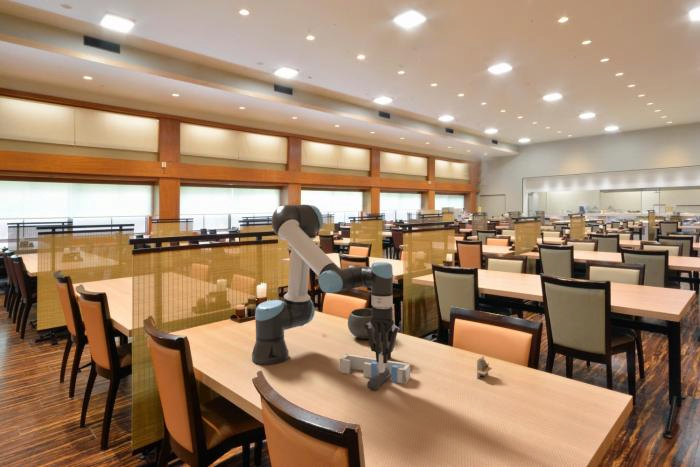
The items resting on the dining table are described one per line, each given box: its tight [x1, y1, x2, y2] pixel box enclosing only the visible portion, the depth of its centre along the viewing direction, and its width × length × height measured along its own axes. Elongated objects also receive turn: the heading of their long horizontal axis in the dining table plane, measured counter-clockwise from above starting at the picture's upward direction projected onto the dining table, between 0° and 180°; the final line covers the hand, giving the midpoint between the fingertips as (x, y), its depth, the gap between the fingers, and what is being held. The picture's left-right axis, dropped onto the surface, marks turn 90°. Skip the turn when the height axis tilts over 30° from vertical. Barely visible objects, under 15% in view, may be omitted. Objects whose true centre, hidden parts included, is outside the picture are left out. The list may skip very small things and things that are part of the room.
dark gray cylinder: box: [366, 367, 390, 392], centre depth 142 cm, size 12×4×4 cm, turn 155°
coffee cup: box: [374, 328, 393, 361], centre depth 165 cm, size 9×8×13 cm
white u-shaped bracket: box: [339, 353, 411, 385], centre depth 149 cm, size 26×6×6 cm, turn 66°
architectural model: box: [476, 355, 493, 379], centre depth 146 cm, size 3×7×7 cm, turn 138°
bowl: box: [347, 307, 375, 340], centre depth 193 cm, size 18×18×13 cm
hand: (382, 371), depth 142 cm, fingers closed
